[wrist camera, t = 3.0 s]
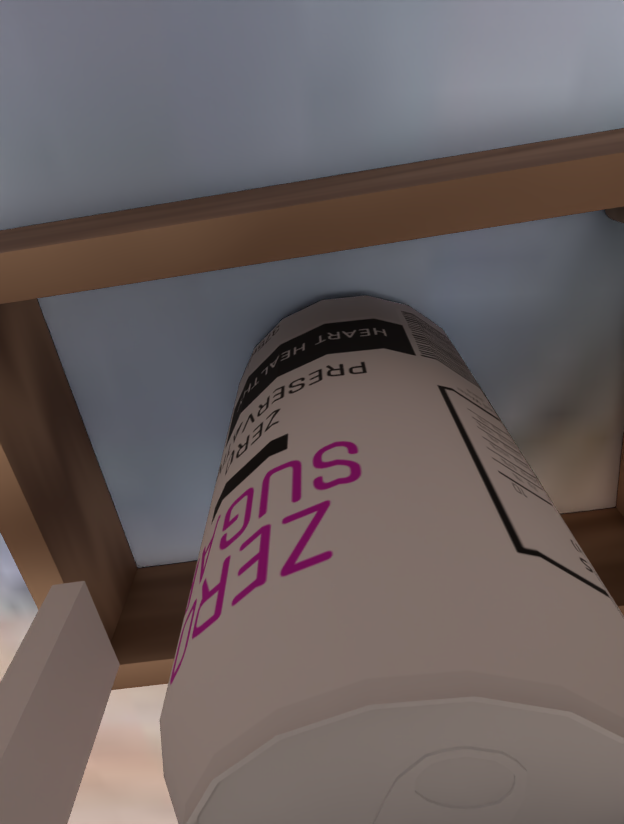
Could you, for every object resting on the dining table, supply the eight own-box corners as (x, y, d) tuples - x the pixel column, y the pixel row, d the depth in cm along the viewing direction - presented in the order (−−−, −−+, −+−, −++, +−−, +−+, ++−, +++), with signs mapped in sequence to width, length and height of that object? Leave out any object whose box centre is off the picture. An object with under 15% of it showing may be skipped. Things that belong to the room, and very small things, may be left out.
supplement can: (423, 508, 24) (571, 1008, 11) (221, 468, 23) (108, 964, 10) (499, 321, 20) (862, 721, 7) (264, 264, 20) (176, 605, 6)
